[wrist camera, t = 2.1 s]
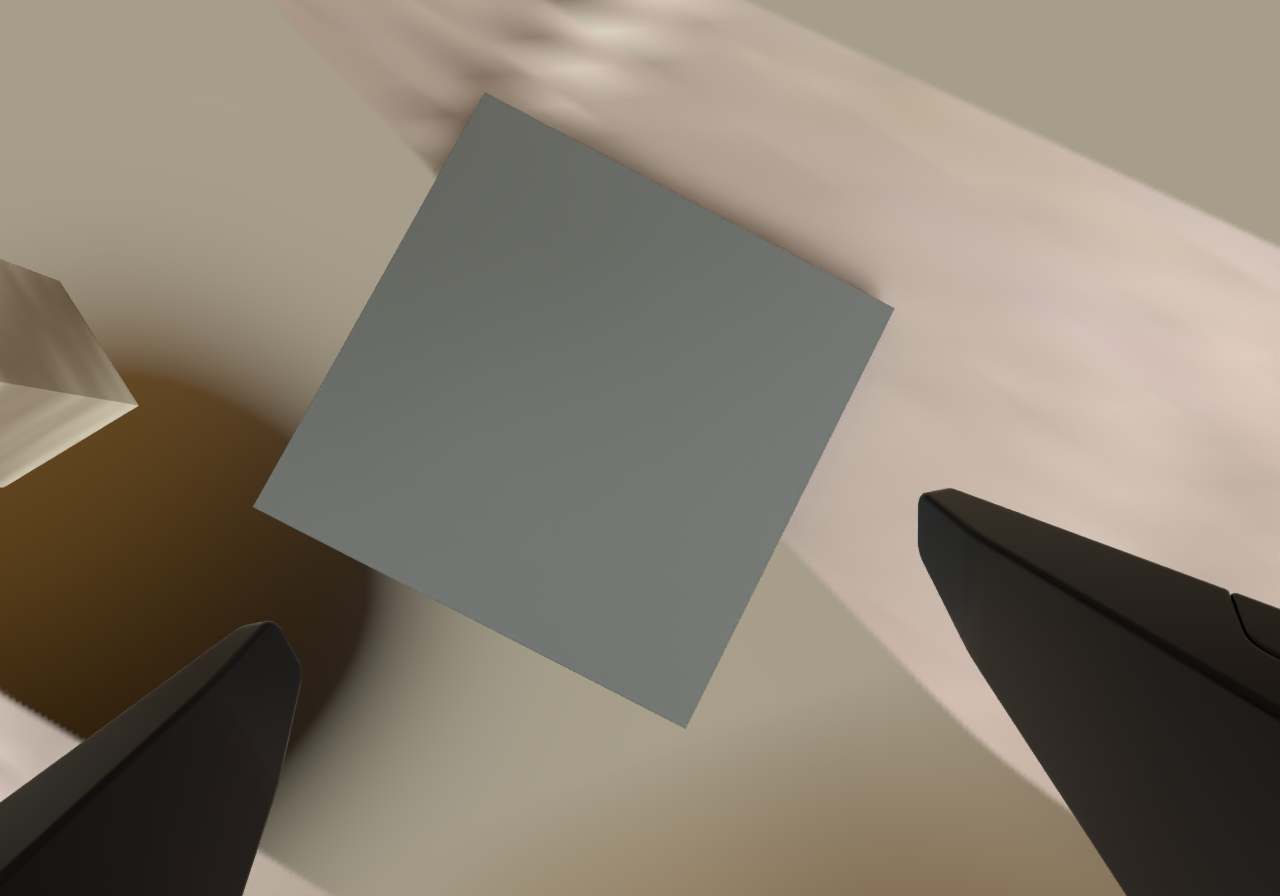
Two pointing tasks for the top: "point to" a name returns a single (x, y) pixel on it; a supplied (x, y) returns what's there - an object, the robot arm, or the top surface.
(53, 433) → the cream rectangular block
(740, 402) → the rubber mat
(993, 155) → the top surface
